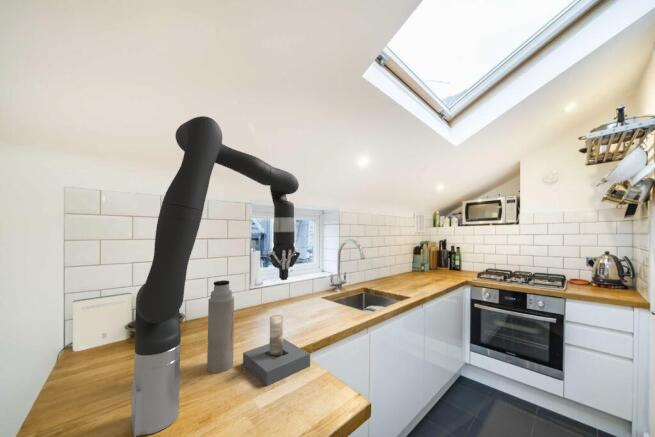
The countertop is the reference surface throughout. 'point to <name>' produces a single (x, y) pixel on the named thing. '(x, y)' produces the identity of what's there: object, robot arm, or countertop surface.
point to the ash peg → (276, 336)
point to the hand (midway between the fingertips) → (283, 279)
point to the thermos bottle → (220, 328)
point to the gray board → (275, 362)
